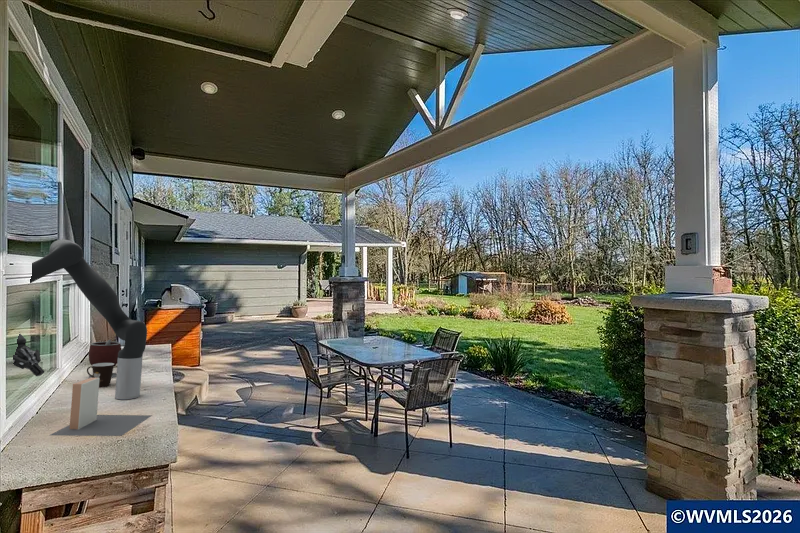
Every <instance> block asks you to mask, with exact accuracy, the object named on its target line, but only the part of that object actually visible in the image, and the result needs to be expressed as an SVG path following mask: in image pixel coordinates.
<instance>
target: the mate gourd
mask: <svg viewBox="0 0 800 533" xmlns="http://www.w3.org/2000/svg"><path fill="white" fill-rule="evenodd" d="M120 350H122V344H121V342H119V341H112V340H111V339H108V340H107V341H96V342H92V343H90V346H89V351H88V361H89V364H90V366H92V365H93V364H98V363H114V367H117V362H118V352H119V351H120ZM91 375H92V376H93V374H91ZM116 376H117V372H116V373H114V372H113V373H112V377H111V379H113V378H116ZM88 378H92V377H91V376H89V375H88Z"/></svg>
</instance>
